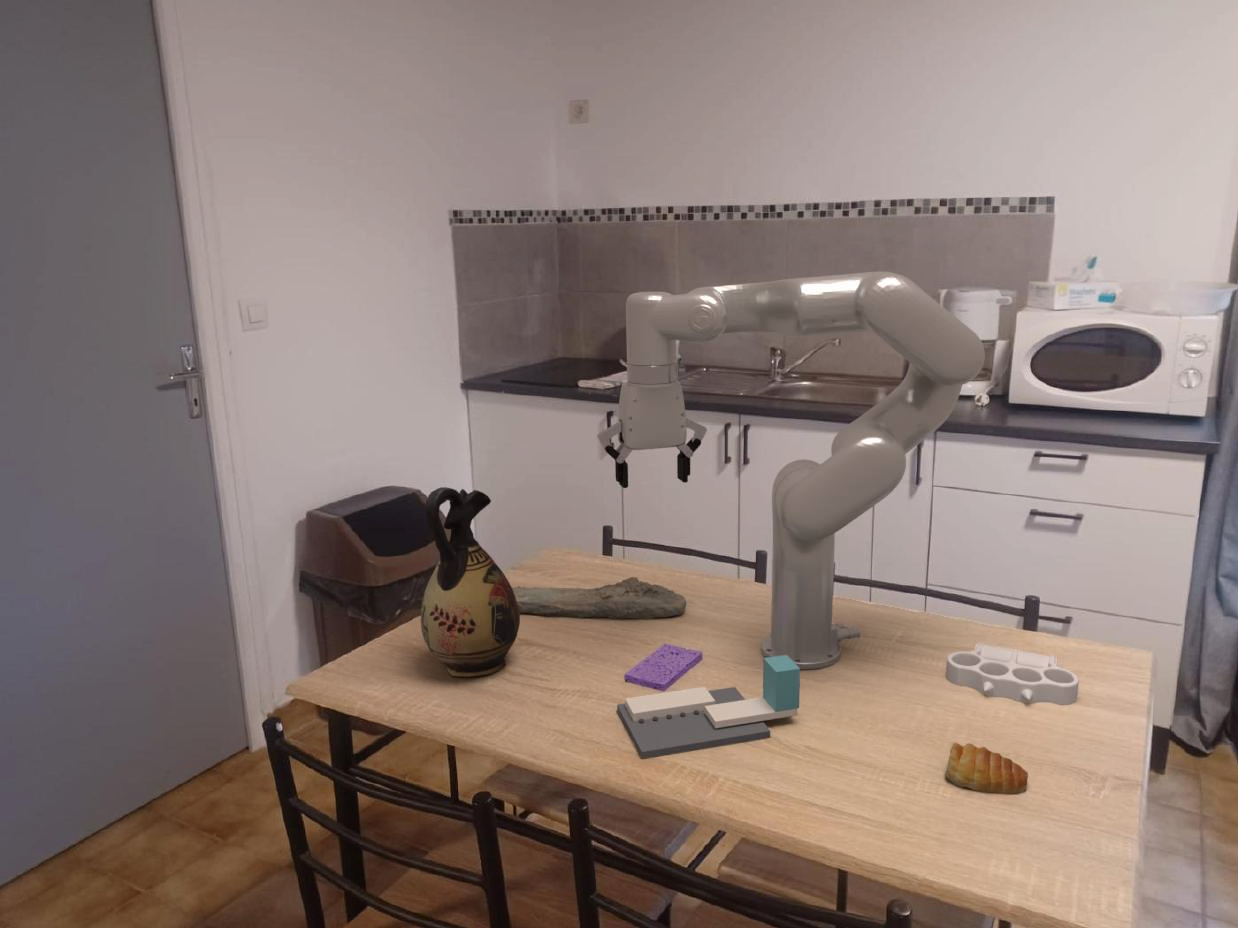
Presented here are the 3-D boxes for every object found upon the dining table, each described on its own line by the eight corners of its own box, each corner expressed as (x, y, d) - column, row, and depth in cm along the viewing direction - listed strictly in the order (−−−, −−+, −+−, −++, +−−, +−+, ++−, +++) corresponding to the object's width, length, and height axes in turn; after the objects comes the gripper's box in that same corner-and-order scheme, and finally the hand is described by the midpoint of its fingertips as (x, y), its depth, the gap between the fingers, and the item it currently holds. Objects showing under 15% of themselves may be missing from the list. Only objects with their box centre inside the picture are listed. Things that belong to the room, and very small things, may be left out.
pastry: (1028, 774, 117) (1030, 747, 116) (1025, 805, 111) (1028, 776, 110) (948, 758, 121) (950, 732, 120) (942, 787, 115) (944, 759, 114)
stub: (785, 699, 133) (786, 654, 132) (799, 714, 129) (800, 668, 127) (704, 712, 130) (704, 666, 129) (715, 728, 126) (715, 680, 125)
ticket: (704, 694, 136) (704, 686, 136) (717, 711, 131) (717, 703, 131) (625, 706, 133) (625, 698, 133) (635, 724, 128) (635, 716, 128)
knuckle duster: (1079, 675, 142) (1075, 719, 129) (955, 653, 150) (939, 693, 138) (1081, 654, 141) (1077, 697, 129) (956, 633, 149) (940, 672, 137)
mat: (734, 692, 138) (735, 686, 138) (770, 737, 126) (770, 730, 126) (617, 710, 134) (617, 704, 134) (642, 758, 122) (641, 751, 122)
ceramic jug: (470, 636, 160) (459, 467, 152) (541, 657, 151) (532, 479, 144) (396, 676, 146) (379, 492, 139) (468, 701, 138) (455, 507, 130)
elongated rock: (505, 602, 178) (491, 627, 169) (502, 577, 177) (488, 600, 167) (688, 599, 173) (685, 624, 163) (687, 573, 171) (683, 596, 162)
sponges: (702, 662, 149) (702, 651, 149) (663, 695, 139) (663, 683, 139) (664, 652, 153) (664, 642, 153) (623, 684, 143) (623, 672, 142)
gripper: (697, 368, 147) (697, 472, 152) (590, 374, 143) (593, 482, 147) (714, 374, 140) (713, 484, 145) (602, 381, 136) (605, 494, 140)
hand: (653, 483), depth 146 cm, fingers open, 9 cm apart
